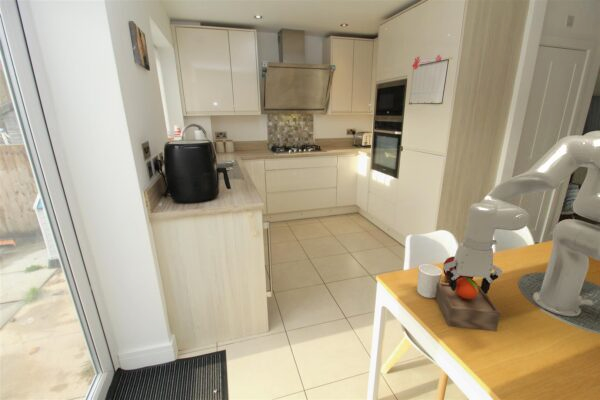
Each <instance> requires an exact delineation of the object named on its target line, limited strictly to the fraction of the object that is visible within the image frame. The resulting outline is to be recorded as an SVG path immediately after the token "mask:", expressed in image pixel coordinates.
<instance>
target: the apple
mask: <svg viewBox="0 0 600 400" xmlns="http://www.w3.org/2000/svg"><path fill="white" fill-rule="evenodd" d="M454 257H455V255H454V256H449V257H448V258H446V260H445V261H444V262H443V264H446V263H449V262H452V261H454ZM442 268H443V269H442V270H443V273H444V277H445V279H446V280H447V281H448V282H449V279H450V277H449V276H448V275H447V273H446V272H445V269H444V267H443V266H442ZM449 270H450V272H451V271H452V270H454V268H453V267H451V268H449ZM463 277H468V278H471V279H473V280H474V277H470V276H461V275H460V276H459V277H458V278H456V280H458V279H460V278H463Z"/></svg>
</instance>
